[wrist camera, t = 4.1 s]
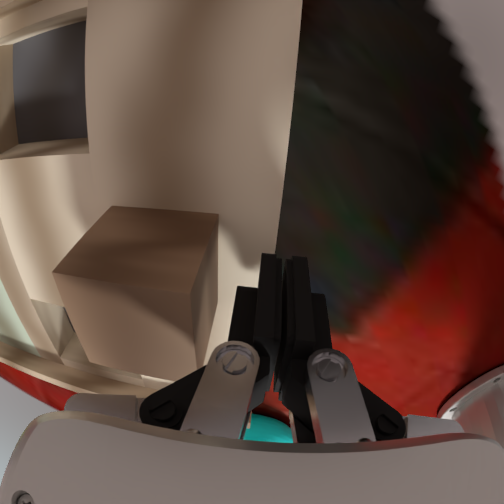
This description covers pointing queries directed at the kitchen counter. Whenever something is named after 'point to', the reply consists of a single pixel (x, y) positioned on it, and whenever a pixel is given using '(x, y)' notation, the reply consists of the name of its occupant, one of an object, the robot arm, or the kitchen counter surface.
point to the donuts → (268, 430)
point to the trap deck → (135, 149)
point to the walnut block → (144, 289)
